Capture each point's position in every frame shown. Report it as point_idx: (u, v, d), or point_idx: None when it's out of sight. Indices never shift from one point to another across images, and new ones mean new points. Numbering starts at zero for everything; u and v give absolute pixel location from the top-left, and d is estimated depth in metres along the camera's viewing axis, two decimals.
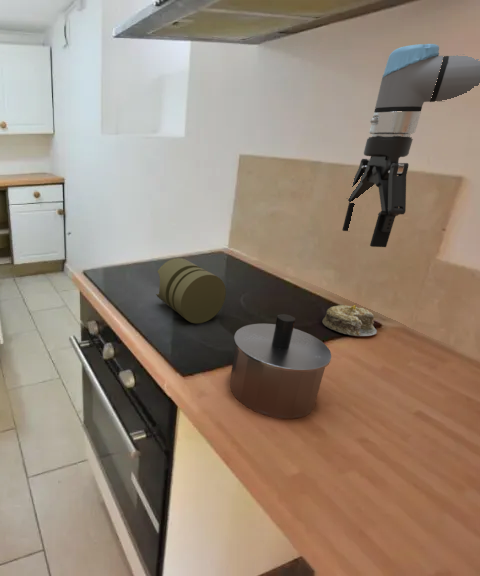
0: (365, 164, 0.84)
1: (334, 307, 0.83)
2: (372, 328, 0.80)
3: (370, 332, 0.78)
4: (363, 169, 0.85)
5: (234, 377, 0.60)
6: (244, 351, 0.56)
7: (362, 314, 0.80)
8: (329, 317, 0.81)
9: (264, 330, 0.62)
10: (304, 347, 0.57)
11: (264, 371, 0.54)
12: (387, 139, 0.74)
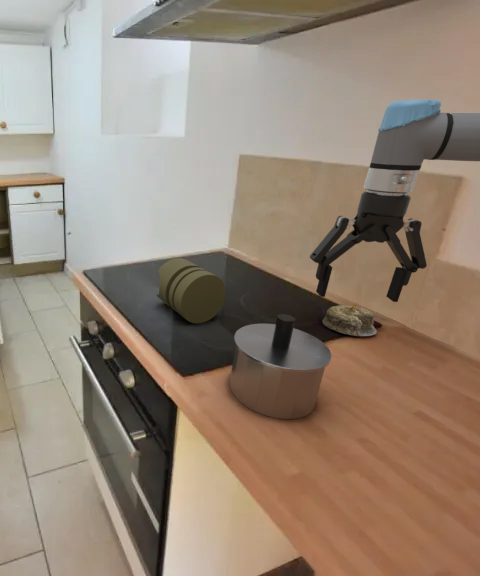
0: None
1: (334, 307, 0.83)
2: (372, 328, 0.80)
3: (370, 332, 0.78)
4: None
5: (234, 377, 0.60)
6: (244, 351, 0.56)
7: (362, 314, 0.80)
8: (329, 317, 0.81)
9: (264, 330, 0.62)
10: (304, 347, 0.57)
11: (264, 371, 0.54)
12: (410, 198, 0.68)
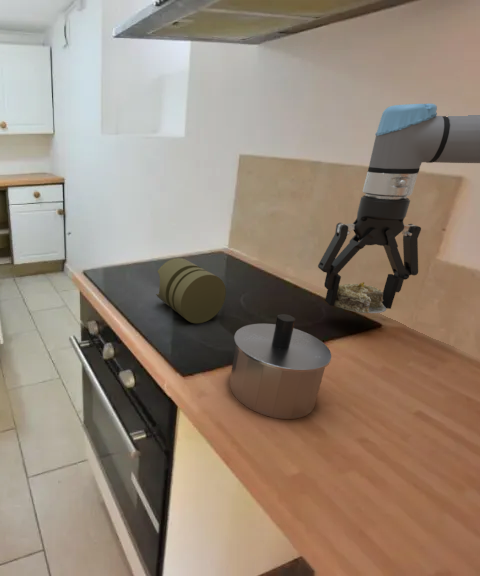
0: None
1: (341, 285, 0.80)
2: (382, 306, 0.78)
3: (380, 310, 0.76)
4: None
5: (234, 377, 0.60)
6: (244, 351, 0.56)
7: (371, 291, 0.77)
8: (337, 295, 0.79)
9: (264, 330, 0.62)
10: (304, 347, 0.57)
11: (264, 371, 0.54)
12: None
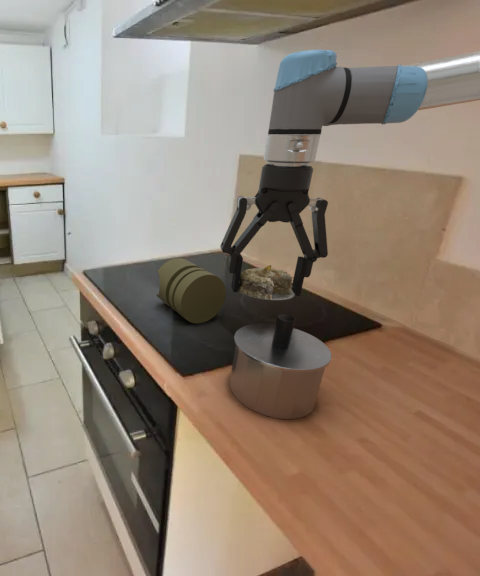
0: None
1: (249, 269, 0.71)
2: (290, 293, 0.68)
3: (286, 296, 0.67)
4: None
5: (234, 377, 0.60)
6: (244, 351, 0.56)
7: (278, 276, 0.68)
8: (241, 280, 0.69)
9: (264, 330, 0.62)
10: (304, 347, 0.57)
11: (264, 371, 0.54)
12: (312, 169, 0.59)
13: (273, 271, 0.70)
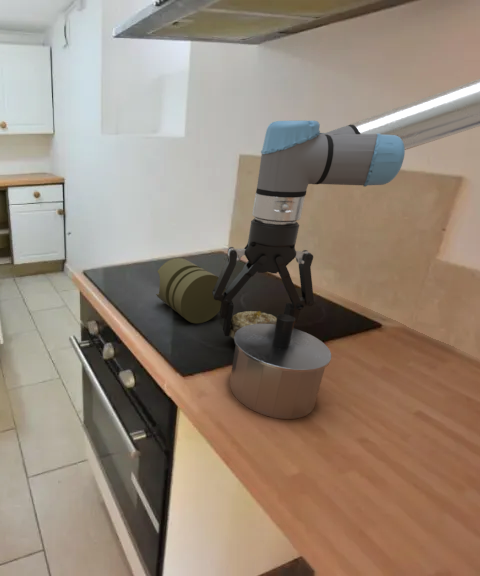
0: None
1: (240, 313, 0.74)
2: None
3: None
4: None
5: (234, 377, 0.60)
6: (244, 351, 0.56)
7: (267, 321, 0.71)
8: (232, 325, 0.72)
9: (264, 330, 0.62)
10: (304, 347, 0.57)
11: (264, 371, 0.54)
12: (298, 226, 0.62)
13: (263, 315, 0.73)
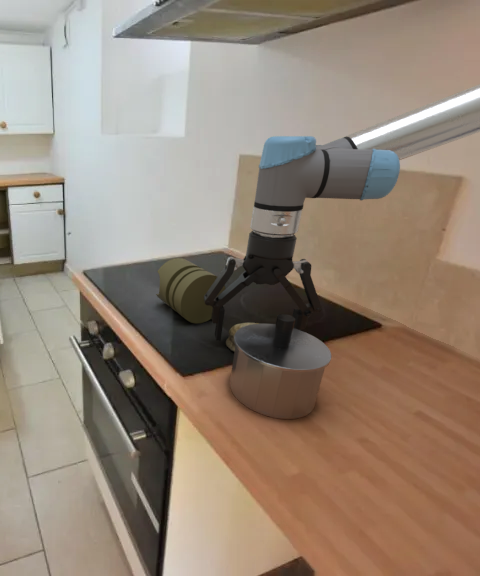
0: (234, 264, 0.68)
1: (238, 325, 0.75)
2: None
3: None
4: None
5: (234, 377, 0.60)
6: (244, 351, 0.56)
7: None
8: (230, 336, 0.73)
9: (264, 330, 0.62)
10: (304, 347, 0.57)
11: (264, 371, 0.54)
12: (295, 239, 0.63)
13: None
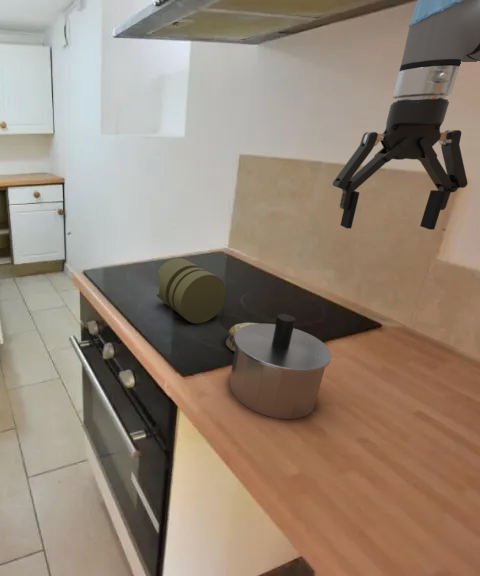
0: None
1: (238, 325, 0.75)
2: None
3: None
4: None
5: (234, 377, 0.60)
6: (244, 351, 0.56)
7: None
8: (230, 336, 0.73)
9: (264, 330, 0.62)
10: (304, 347, 0.57)
11: (264, 371, 0.54)
12: None
13: None
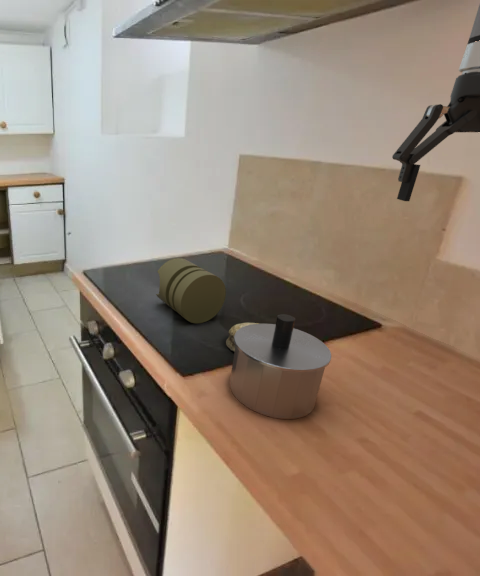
0: None
1: (238, 325, 0.75)
2: None
3: None
4: None
5: (234, 377, 0.60)
6: (244, 351, 0.56)
7: None
8: (230, 336, 0.73)
9: (264, 330, 0.62)
10: (304, 347, 0.57)
11: (264, 371, 0.54)
12: None
13: None
